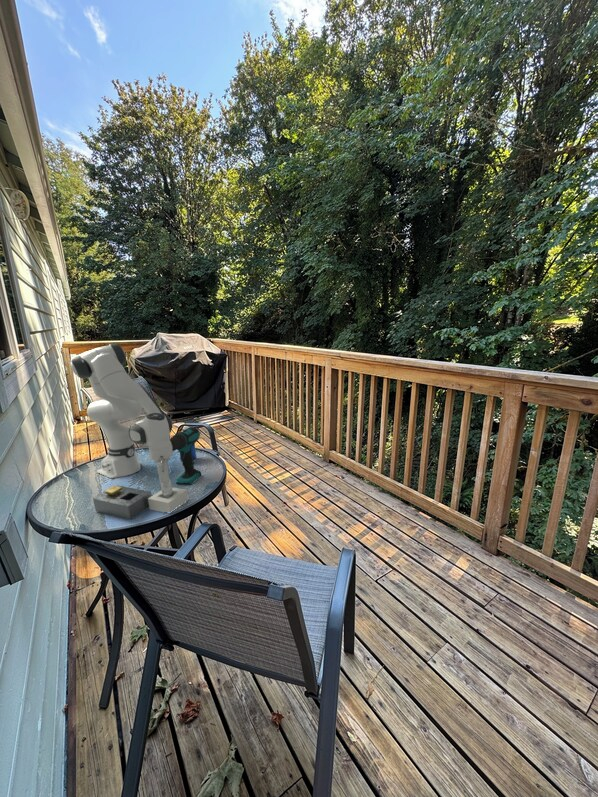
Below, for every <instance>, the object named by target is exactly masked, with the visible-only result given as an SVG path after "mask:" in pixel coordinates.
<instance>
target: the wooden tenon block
mask: <svg viewBox="0 0 598 797" xmlns="http://www.w3.org/2000/svg"><path fill="white" fill-rule="evenodd" d="M119 486H120V485H119ZM119 486H117V485H112V486H110V487H109V488H107V489H105V490H103V493H106V494H108V495H110V496H114V495H116V494H118V493H120V492H119V491H121V490H122V489H123V488H122V487H119Z"/></svg>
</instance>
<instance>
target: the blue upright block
mask: <svg viewBox="0 0 598 797" xmlns="http://www.w3.org/2000/svg"><path fill="white" fill-rule="evenodd" d="M195 444H196V443H195ZM195 444H194V445H193V446H192V447H191V453H192V457H193V461H195V462H196V460H197V453H196V452H197V451H196V445H195ZM180 462H181V463H182V459H180Z"/></svg>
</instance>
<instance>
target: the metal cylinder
mask: <svg viewBox="0 0 598 797" xmlns="http://www.w3.org/2000/svg"><path fill="white" fill-rule="evenodd" d="M169 478H170V480H169V482H168V488H164V486H163V483H160V489H161V490H162V495H163V498H166V499H169V498H170V497H172V496H173V493H172V487H173V486H172V481H171V477H170V476H169Z"/></svg>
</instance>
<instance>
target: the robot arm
mask: <svg viewBox="0 0 598 797" xmlns="http://www.w3.org/2000/svg"><path fill="white" fill-rule="evenodd" d="M126 362H127V355H126V351H125V349H123V348H122V346H121V345H119V344H118V343H109V344H108V345H104V346H99V347H96V348H92V349H91V350H90V349H89V350H88V351H84V352H83V353H80V354H76V355H74V356H72V357H71V359H70V362H69V363H70V369H71V370H72V373H73V374H74V375H76V377H78V378H79V379H88V380H89V382H90V386H91V388H92V390H93V392H94V393H93V394H95V396H96V397H98V398H100V399H101V400H97V401H96V400H95V401H92V402H90V403H89V404H88V407H87V409H86V414H87V417H88V418H89V419H90V421H93V422H94V423H96V424H98V426H100V427H101V428H102V430H103V431H104V432H105V435H106V437H107V440H108V441H107V442H108V446H109V447H107V448H106V451H108V452H107V453H108V454H107V455H106V456H105V457H104V458H103V459H102V460H101V462H100V468H99V469H97V470H96V473H97V472H98V473H97V474H99V473H100V474H99V475H101V474H102V475H101V476H103V475H104V476H103V477H107V478H109V479H116V478H119V477H127V476H130V475H132V474H135V473H136V472H139V471H140V470H141V465H142V462H141V461H140V460H139V456H138V453H137V451H136V445H145V444H146V445H147V446H148V452H149V453H148V454H149V458H150V460H151V461H153V462H154V463H155V464H157V472H158V479H159V483H160V484H161V483H163V486H164V488H168V482H169V480H170V479H171V477H170V469H169V461H170V460H171V457H173V455H174V451H173V450H172V443H171V441H170V439H171V438H170V437H171V432H172V430H173V425H174V424H173V420H172V419H171V417H170V416H169V415H168V414H167V413H166V412H164V411H163V409H162V408H161V407H160V406H159V404H158V403H157V402H156V400H154V398H153V397H152V396H151V394H150V393H149V392H148V390H146V388H145V387H144V386H143V385H141V384H139V383H138V382H136V381H135V380H133V378H132V377H130V376H129V374H128V373H127V371H126V370H125V368H124V366H123V365H125V364H126ZM143 410H144V411H145V412H146V413H147V415H145V417H143V418H142V419H140V420H137V421H135V422H132V423H131V424H130V425H129V427H128V426H126V425H124V424H122V423H120V421H131V420H134V419H138V418H139V417H140V416H141V414H142V412H143ZM135 444H136V445H135ZM169 477H170V478H169Z"/></svg>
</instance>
